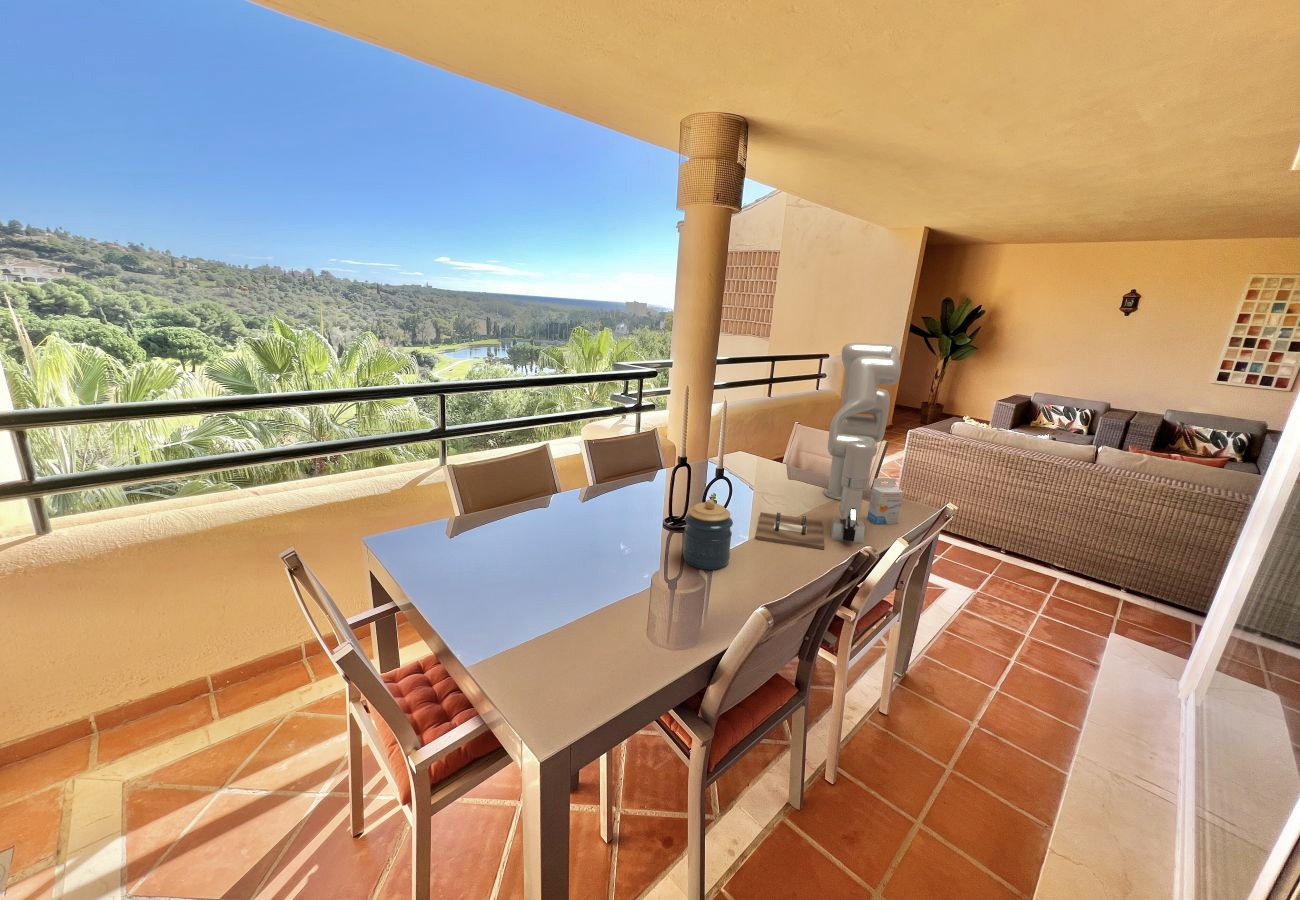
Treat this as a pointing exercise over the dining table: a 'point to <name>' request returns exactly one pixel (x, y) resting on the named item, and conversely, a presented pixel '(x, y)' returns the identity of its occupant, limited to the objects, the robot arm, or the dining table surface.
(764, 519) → the pin tray
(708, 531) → the canister
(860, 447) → the robot arm
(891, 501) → the ink box
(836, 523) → the drive
